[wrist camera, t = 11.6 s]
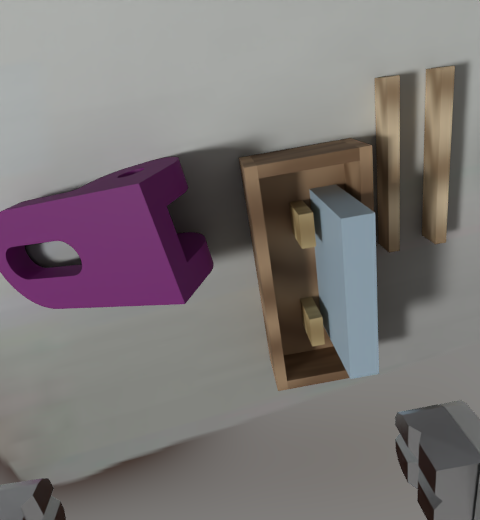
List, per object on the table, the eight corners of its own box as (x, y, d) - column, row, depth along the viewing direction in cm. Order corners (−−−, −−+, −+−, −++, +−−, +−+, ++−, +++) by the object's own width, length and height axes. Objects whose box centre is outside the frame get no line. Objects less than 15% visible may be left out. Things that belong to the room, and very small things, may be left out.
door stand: (374, 78, 34) (387, 77, 31) (437, 67, 34) (454, 65, 31) (378, 243, 40) (388, 252, 37) (431, 233, 40) (445, 242, 37)
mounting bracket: (81, 266, 44) (226, 252, 37) (22, 309, 38) (185, 304, 30) (42, 184, 41) (195, 150, 33) (-32, 216, 34) (139, 183, 26)
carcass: (238, 157, 35) (243, 167, 31) (350, 138, 35) (372, 145, 31) (270, 359, 44) (278, 390, 39) (359, 343, 44) (377, 372, 40)
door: (309, 188, 36) (341, 218, 28) (339, 183, 36) (379, 211, 28) (321, 321, 42) (350, 378, 33) (346, 316, 42) (382, 373, 33)
